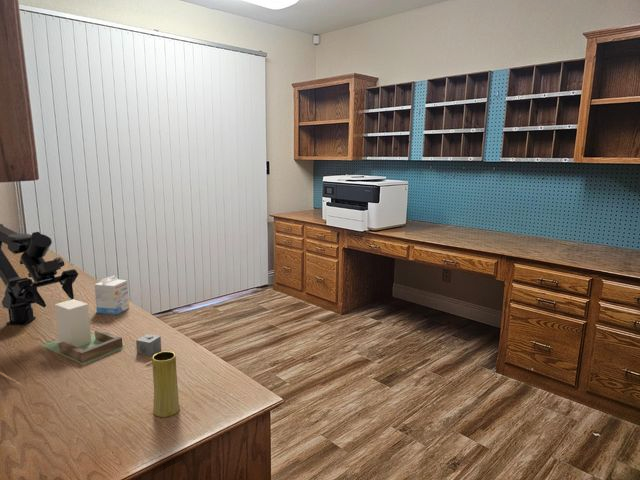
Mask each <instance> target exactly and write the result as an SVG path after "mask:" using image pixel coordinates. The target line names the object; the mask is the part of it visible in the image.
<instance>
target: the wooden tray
mask: <svg viewBox="0 0 640 480" xmlns="http://www.w3.org/2000/svg"><path fill="white" fill-rule="evenodd" d="M94 335H95V339H96V340H99V341H101V342H104V343H101V344H99V345H96V346H93V347H91V348H88V349H86V350H82V349H80V348H78V347H75V346H73V345H71V344H68V343H66V342H61V343H59V351H60V353H62V354H64V355H66V356H69V357H71V358H73V359H75V360H77V361H80V362H82V363H84V362H86V361H89V360H91V359H93V358H96V357H98V356H101V355H103V354H106V353H108V352H111V351H113V350H115V349H118V348H120V347H123V346H124V345H123V337H121V336H119V335H116V334H114V333H111V332H108V331H105V330H103V329H99V328H98V329H96V330H94Z"/></svg>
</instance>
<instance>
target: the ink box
mask: <svg viewBox="0 0 640 480" xmlns="http://www.w3.org/2000/svg"><path fill="white" fill-rule="evenodd" d="M94 294H95V308H96V313H98V314H99V313H101V314H103V315H114V316H117V315H118V314H121V313H123V312H125V311H126V310H128V309H129V308H130V301H129V300H130V299H129V287H128V280H126V279H119V278H118V277H117V276H116V275H110V276H108V277H105V278H102V279H100V281H99V282H97V283H95V284H94Z"/></svg>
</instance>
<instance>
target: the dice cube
mask: <svg viewBox="0 0 640 480" xmlns="http://www.w3.org/2000/svg"><path fill="white" fill-rule="evenodd" d="M135 345H136V354H137V355H138V354H139V355H142V356H143V355H144V356H149V357H153V355H155V354H156V353H159V351H161V350H162V339H161V335H157V334H156V335H155V334H151V333H146V334H145V335H143V336H141V337H139V338H137V339H136V340H135Z"/></svg>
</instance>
